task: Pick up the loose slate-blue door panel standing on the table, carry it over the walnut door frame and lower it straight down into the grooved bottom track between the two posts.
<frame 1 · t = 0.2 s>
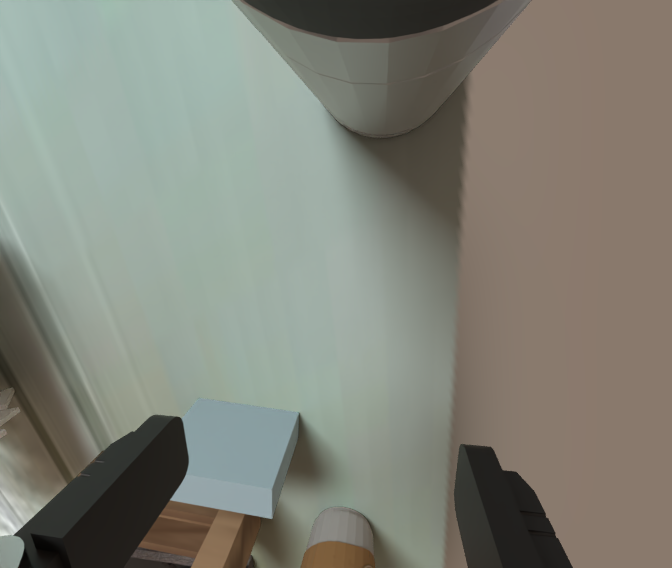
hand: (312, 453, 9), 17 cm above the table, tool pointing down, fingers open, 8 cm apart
door panel: (248, 417, 32), on the table
track: (182, 487, 36), on the table
coffee cup: (343, 524, 35), on the table
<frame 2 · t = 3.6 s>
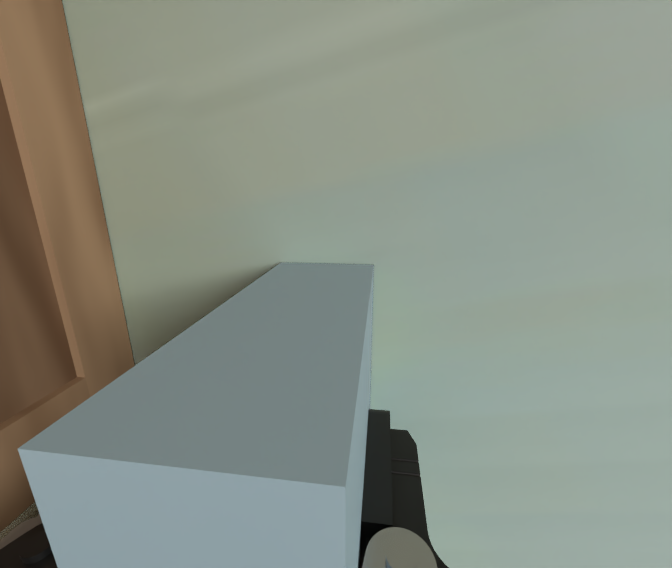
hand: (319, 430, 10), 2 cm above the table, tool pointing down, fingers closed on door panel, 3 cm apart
door panel: (328, 398, 12), on the table, touching gripper
track: (2, 168, 11), on the table
coffee cup: (85, 549, 16), on the table
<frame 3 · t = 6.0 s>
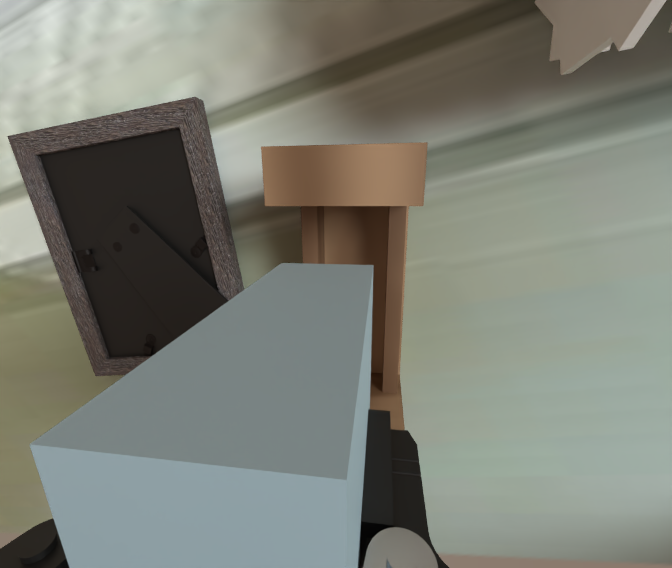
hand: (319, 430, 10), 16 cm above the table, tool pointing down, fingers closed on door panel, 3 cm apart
door panel: (328, 398, 12), point 14 cm above the table, touching gripper
track: (357, 284, 26), on the table
picture frame: (152, 253, 28), on the table
when the fingers open (5 cm above the table, at t = 8.8 s): door panel drops 2 cm, resting on track.
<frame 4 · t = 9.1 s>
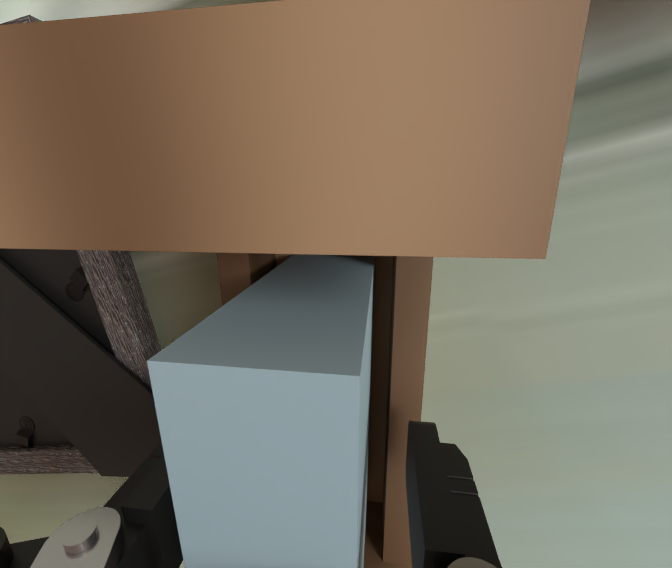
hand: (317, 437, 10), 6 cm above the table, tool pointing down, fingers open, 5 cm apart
door panel: (334, 374, 13), point 2 cm above the table, touching track
track: (340, 350, 15), on the table
picture frame: (20, 292, 18), on the table
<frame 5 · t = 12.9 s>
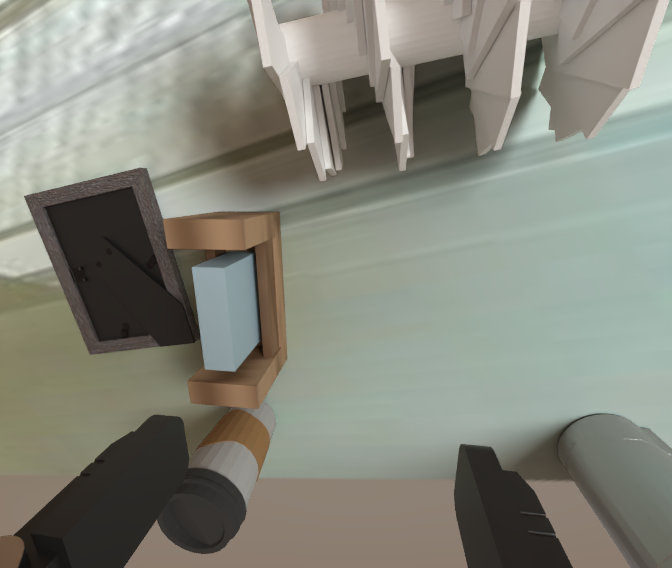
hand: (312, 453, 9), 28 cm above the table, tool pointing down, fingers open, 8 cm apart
door panel: (248, 294, 37), point 2 cm above the table, touching track
track: (255, 288, 39), on the table
spiral staircase: (432, 70, 31), on the table
coffee cup: (255, 415, 44), on the table
picture frame: (123, 267, 41), on the table
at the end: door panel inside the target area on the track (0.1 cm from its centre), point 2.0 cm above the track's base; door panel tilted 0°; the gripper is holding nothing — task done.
